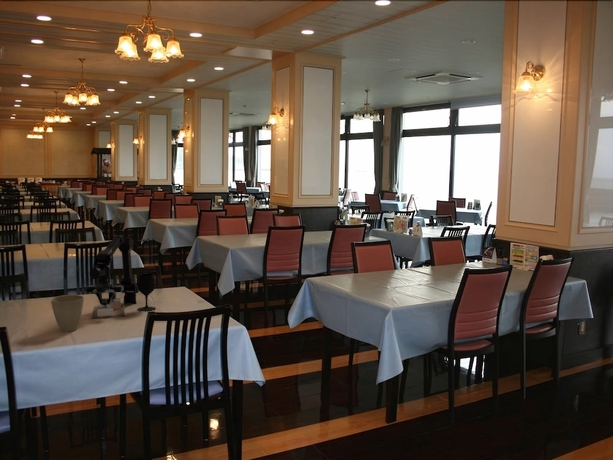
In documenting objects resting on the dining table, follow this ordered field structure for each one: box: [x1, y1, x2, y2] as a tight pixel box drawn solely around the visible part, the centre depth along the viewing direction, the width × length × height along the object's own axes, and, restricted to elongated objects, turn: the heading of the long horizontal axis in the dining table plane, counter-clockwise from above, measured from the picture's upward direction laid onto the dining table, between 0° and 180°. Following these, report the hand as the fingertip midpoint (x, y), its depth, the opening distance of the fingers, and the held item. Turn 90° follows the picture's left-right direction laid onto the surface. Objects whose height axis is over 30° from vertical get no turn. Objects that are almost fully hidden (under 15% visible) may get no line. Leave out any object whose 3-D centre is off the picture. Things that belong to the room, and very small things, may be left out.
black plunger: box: [101, 297, 109, 307], centre depth 302 cm, size 4×4×8 cm
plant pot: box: [50, 294, 85, 333], centre depth 273 cm, size 15×15×16 cm
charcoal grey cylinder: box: [112, 292, 117, 301], centre depth 317 cm, size 4×4×8 cm
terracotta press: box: [110, 297, 121, 309], centre depth 317 cm, size 8×8×4 cm
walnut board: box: [92, 304, 126, 320], centre depth 310 cm, size 16×26×1 cm, turn 20°
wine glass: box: [136, 272, 157, 313], centre depth 316 cm, size 10×10×20 cm
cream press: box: [96, 304, 113, 317], centre depth 302 cm, size 8×8×4 cm
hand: (105, 304), depth 302 cm, fingers open, 4 cm apart
